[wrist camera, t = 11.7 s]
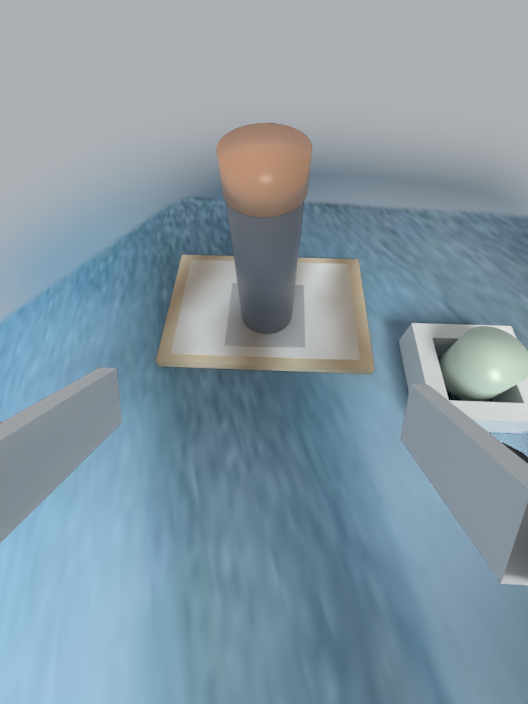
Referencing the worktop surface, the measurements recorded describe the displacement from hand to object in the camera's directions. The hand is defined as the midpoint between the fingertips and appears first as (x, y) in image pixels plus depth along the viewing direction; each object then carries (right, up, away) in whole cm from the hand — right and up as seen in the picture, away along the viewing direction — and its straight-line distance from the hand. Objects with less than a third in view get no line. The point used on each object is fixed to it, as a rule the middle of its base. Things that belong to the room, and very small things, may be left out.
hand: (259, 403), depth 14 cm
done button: (+14, +1, +7) cm, 16 cm away
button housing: (+14, 0, +9) cm, 17 cm away
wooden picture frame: (0, +6, +12) cm, 13 cm away
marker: (0, +5, +10) cm, 12 cm away
